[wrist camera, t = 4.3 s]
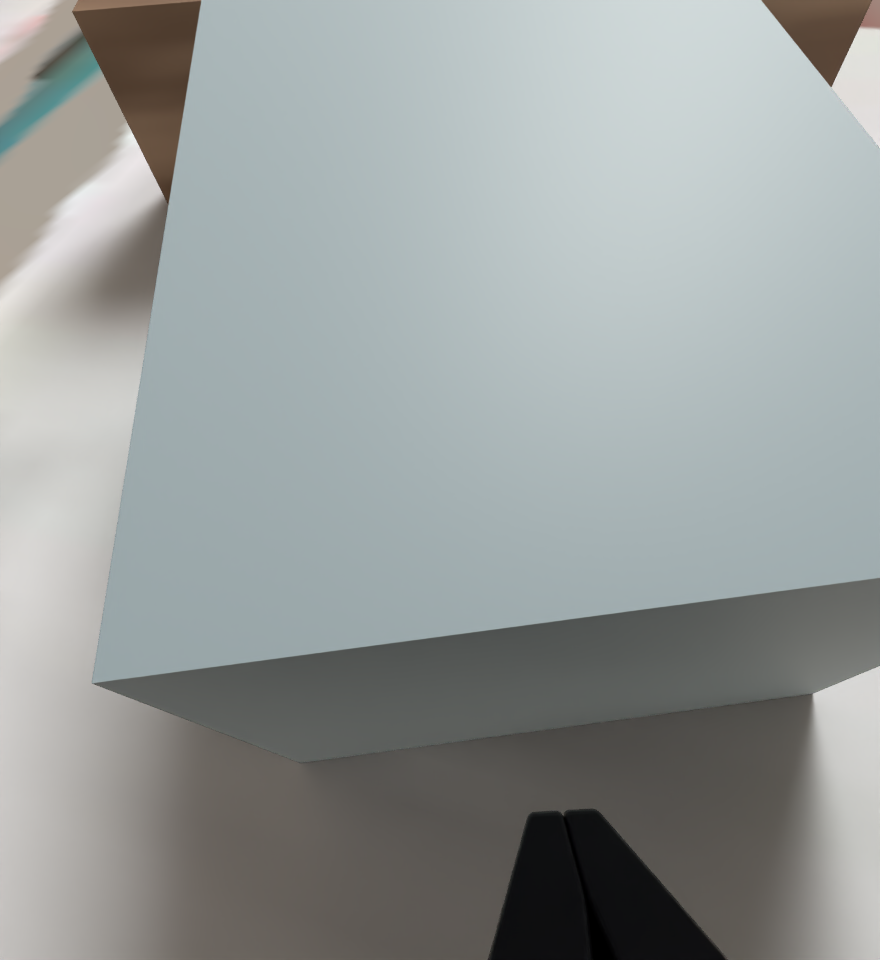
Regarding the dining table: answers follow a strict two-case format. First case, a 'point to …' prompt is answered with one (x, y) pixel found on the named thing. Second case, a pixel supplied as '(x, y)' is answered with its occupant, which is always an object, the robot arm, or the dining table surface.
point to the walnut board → (172, 30)
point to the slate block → (501, 376)
